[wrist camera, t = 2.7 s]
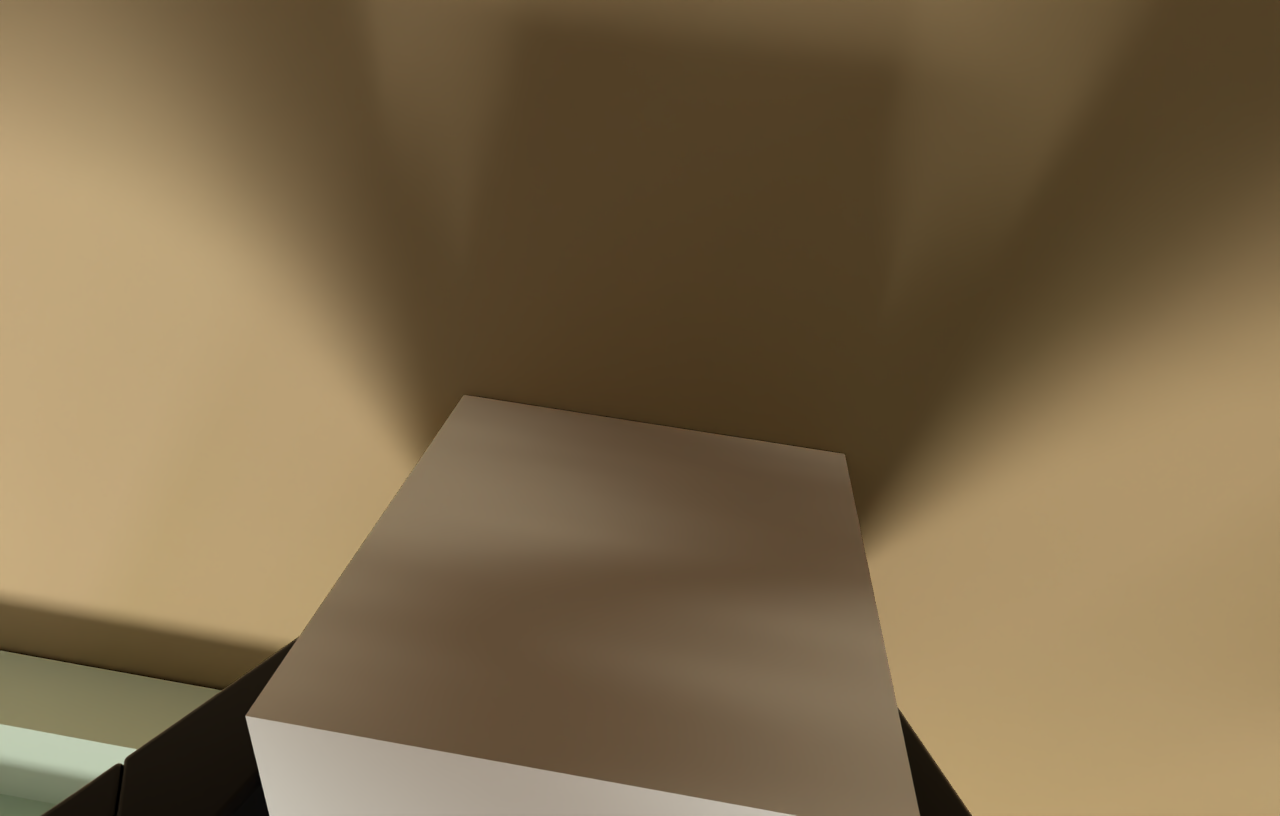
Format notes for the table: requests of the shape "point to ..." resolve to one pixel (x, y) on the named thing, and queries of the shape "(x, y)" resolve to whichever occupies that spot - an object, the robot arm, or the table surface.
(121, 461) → the table surface
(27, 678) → the baseplate
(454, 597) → the cream brick
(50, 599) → the table surface
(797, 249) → the table surface
